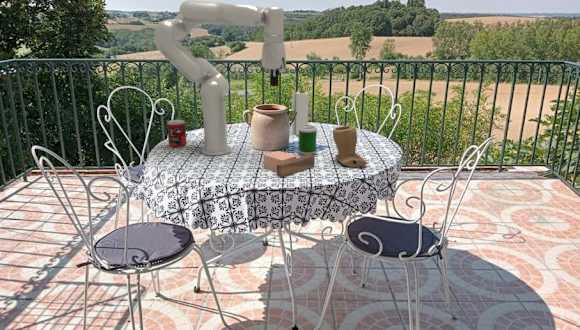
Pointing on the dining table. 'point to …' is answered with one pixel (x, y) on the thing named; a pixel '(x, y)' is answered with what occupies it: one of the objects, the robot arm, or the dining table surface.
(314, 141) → the soda can
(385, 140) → the dining table surface
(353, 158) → the tan boot-shaped piece
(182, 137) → the canned food
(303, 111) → the paper towel roll
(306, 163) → the board
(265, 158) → the brick
